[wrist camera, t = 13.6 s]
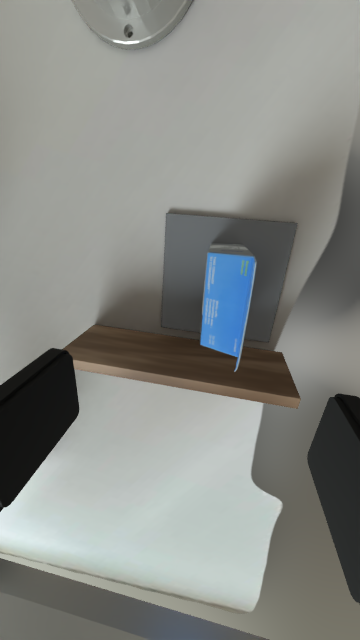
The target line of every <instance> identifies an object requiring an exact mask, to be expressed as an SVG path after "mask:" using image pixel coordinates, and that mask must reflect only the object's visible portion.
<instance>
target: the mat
mask: <svg viewBox="0 0 360 640" xmlns="http://www.w3.org/2000/svg"><path fill="white" fill-rule="evenodd" d="M296 228H297V223H288V222H275V221H262V220H248V219H235V218H222V217H209V216H196V215H183V214H170V213H166V230H165V252H164V274H163V296H162V318H161V327H165V328H172V329H179V330H186V331H193V332H200V331H201V318H202V305H203V293H204V281H205V271H206V261H207V253H208V250H209V248H210V244H211V243H216V244H242V245H244V246H245V247H246V248H247V249H248V250H249V251H250V252H251V253H252V254H253V255H254V256H255V258H256V261H257V265H256V272H255V279H254V286H253V292H252V298H251V303H250V309H249V315H248V320H247V326H246V331H245V337H244V339H249V340H256V341H262V342H269V340H270V335H271V331H272V327H273V323H274V319H275V315H276V310H277V306H278V302H279V298H280V294H281V290H282V286H283V281H284V277H285V273H286V269H287V265H288V261H289V257H290V252H291V248H292V244H293V240H294V236H295V232H296Z"/></svg>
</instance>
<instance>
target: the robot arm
mask: <svg viewBox="0 0 360 640" xmlns="http://www.w3.org/2000/svg"><path fill="white" fill-rule="evenodd" d="M72 2H73V4H74V6H75V7H76V9H77V11H78V12H79V14H80V16H81V17H82V18H83V20H84V21H85V22H86V24H87V25H88V27H89V28H90V29H91V30H92V31H93V32H94V33H95V34H96V35H97V36H98V37H99V38H100V39H102V40H104V41H105V42H107V43H108V44H110V45H112V46H115V47H118V48H121V49H132V50H136V49H141V48H145V47H148V46H150V45H152V44H154V43H156V42H158V41H160V40H161V39H163V38H164V37H165V36H166V35H167V34H169V33H170V32H171V31H172V30H173V29H174V27H175V26H176V25H177V24H178V23H179V22H180V20H181V19H182V18H183V16H184V14H185V13H186V11H187V9H188V8H189V6H190V4H191V2H192V0H72ZM131 35H132V36H131ZM130 36H131V37H130ZM78 413H79V402H78V395H77V387H76V379H75V371H74V364H73V357H72V355H70V354H69V352H68V351H67V350H61V349H55V348H51V349H49V350H48V351H47V352H45V353H44V354H42V355H41V356H40V357H38V358H37V359H36V360H34V361H33V362H32V363H30V364H29V365H27V366H26V367H25V368H23V369H22V370H21V371H19V372H18V373H17V374H15V375H14V376H12V377H11V378H10V379H8V380H7V381H6V382H4V383H3V384H2V385H0V512H1V510H2V509H3V508H4V507H7V506H9V505H10V504H11V503H12V502H13V501H14V499H15V498H16V497H17V495H18V494H19V493H20V491H21V490H22V489H23V487H24V486H25V485H26V483H27V482H28V481H29V480H30V478H31V477H32V476H33V474H34V473H35V472H36V470H37V469H38V468H39V466H40V465H41V464H42V462H43V461H44V460H45V459H46V457H47V456H48V455H49V453H50V452H51V451H52V449H53V448H54V447H55V445H56V444H57V443H58V441H59V440H60V439H61V437H62V436H63V435H64V434H65V432H66V431H67V430H68V428H69V427H70V426H71V424H72V423H73V422H74V420H75V419H76V418H77V416H78ZM308 465H309V468H310V471H311V474H312V477H313V480H314V483H315V486H316V490H317V493H318V495H319V499H320V502H321V505H322V508H323V511H324V514H325V517H326V520H327V523H328V526H329V529H330V532H331V535H332V539H333V542H334V544H335V548H336V550H337V553H338V557H339V560H340V563H341V566H342V569H343V572H344V575H345V578H346V581H347V585H348V587H349V590H350V593H351V595H352V597H353V599H354V600H355V601H356V602H359V603H360V398H359V397H357V396H351V395H344V394H336V395H335V397H330V398H329V400H328V402H327V406H326V408H325V410H324V413H323V415H322V418H321V421H320V423H319V426H318V428H317V431H316V434H315V436H314V439H313V441H312V444H311V447H310V449H309V452H308ZM0 640H269V639H266V638H263V637H259V636H256V635H252V634H250V633H246V632H243V631H240V630H237V629H233V628H230V627H227V626H224V625H220V624H217V623H214V622H211V621H207V620H204V619H201V618H198V617H194V616H191V615H188V614H184V613H181V612H178V611H174V610H171V609H168V608H165V607H161V606H158V605H155V604H151V603H148V602H145V601H141V600H138V599H135V598H132V597H128V596H125V595H122V594H118V593H115V592H112V591H108V590H105V589H101V588H98V587H95V586H92V585H88V584H85V583H82V582H78V581H75V580H72V579H69V578H65V577H62V576H59V575H55V574H52V573H48V572H45V571H41V570H38V569H35V568H31V567H28V566H25V565H21V564H18V563H15V562H11V561H8V560H4V559H1V558H0Z"/></svg>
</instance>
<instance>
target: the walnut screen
mask: <svg viewBox="0 0 360 640" xmlns="http://www.w3.org/2000/svg"><path fill="white" fill-rule="evenodd" d="M62 350H67V351H68V352H69V354H70V355H72V357H73V364H74V369H77V370H83V371H88V372H94V373H100V374H105V375H111V376H116V377H122V378H128V379H133V380H139V381H144V382H150V383H156V384H161V385H167V386H172V387H178V388H184V389H189V390H195V391H201V392H206V393H212V394H217V395H223V396H229V397H234V398H240V399H245V400H251V401H257V402H262V403H268V404H273V405H279V406H285V407H290V408H296V409H297V408H298V406H299V403H300V400H301V399H300V396H299V393H298V391H297V389H296V386H295V384H294V381H293V379H292V376H291V374H290V371H289V369H288V366H287V364H286V362H285V359H284V356H283V354H282V352H275V351H268V350H261V349H255V348H248V347H243V348H242V353H241V358H240V362H239V365H238V369H237V370H236V371H235V372H234V370H235V369H236V363H237V359H238V357H235V356H232V355H229V354H226V353H223V352H220V351H217V350H214V349H211V348H208V347H206V346H203V345H200V340H194V339H187V338H181V337H174V336H167V335H160V334H154V333H147V332H140V331H134V330H127V329H120V328H113V327H107V326H100V325H93V326H92V327H91V328H89V329H88V330H87V331H85V332H84V333H83V334H81V335H80V336H79V337H78V338H76V339H75V340H74V341H72V342H71V343H70V344H69V345H67V346H66V347H65V348H63V349H62Z"/></svg>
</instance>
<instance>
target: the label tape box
mask: <svg viewBox="0 0 360 640" xmlns="http://www.w3.org/2000/svg"><path fill="white" fill-rule="evenodd" d="M256 265H257V261H256V258H255V256H254V255H253V254H252V253H251V252H250V251H249V250H248V249H247V248H246V247H245V246H244V245H242V244H216V243H211V244H210V248H209V250H208V253H207V261H206V271H205V281H204V293H203V305H202V318H201V331H200V345H203V346H206V347H208V348H211V349H214V350H217V351H220V352H223V353H226V354H229V355H232V356H235V357H238V359H237V363H236V369H235V370H234V372H235V371H236V370H237V369H238V365H239V362H240V358H241V353H242V348H243V342H244V337H245V331H246V326H247V320H248V315H249V309H250V303H251V298H252V292H253V286H254V279H255V272H256Z"/></svg>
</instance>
